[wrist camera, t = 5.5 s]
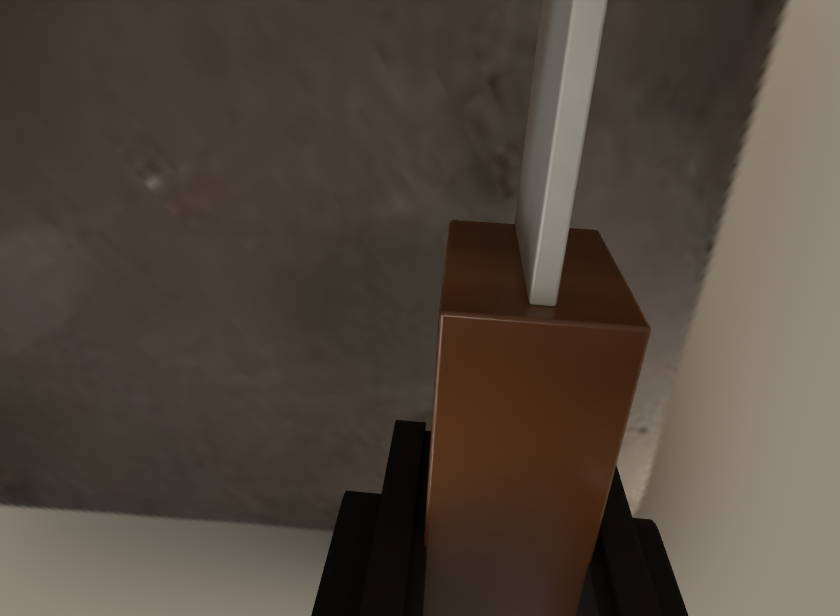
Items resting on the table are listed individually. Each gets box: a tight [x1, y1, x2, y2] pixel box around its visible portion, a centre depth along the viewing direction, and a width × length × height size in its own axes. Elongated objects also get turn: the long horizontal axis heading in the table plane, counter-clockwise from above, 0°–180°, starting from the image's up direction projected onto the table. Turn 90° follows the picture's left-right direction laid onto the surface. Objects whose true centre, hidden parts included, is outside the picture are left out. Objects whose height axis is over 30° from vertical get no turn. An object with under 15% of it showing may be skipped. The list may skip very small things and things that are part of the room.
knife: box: [422, 0, 651, 616], centre depth 7 cm, size 21×2×3 cm, turn 177°
